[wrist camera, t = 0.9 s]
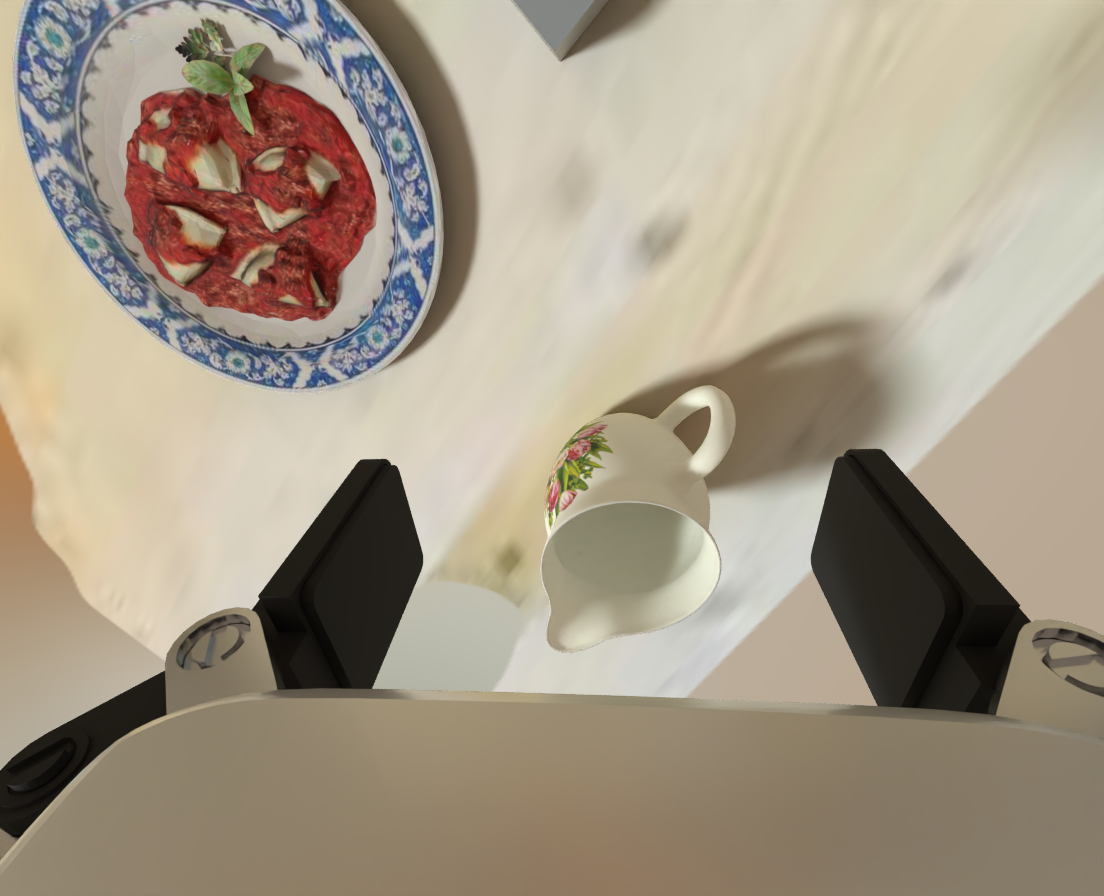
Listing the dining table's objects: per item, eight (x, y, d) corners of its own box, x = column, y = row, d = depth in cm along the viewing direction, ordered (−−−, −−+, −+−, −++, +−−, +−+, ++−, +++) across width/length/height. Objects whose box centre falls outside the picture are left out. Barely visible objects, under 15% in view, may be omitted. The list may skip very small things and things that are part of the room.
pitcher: (764, 391, 37) (840, 511, 25) (619, 542, 45) (625, 683, 34) (642, 309, 34) (662, 400, 23) (513, 485, 43) (480, 615, 31)
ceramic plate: (395, 431, 42) (382, 450, 39) (65, 294, 38) (26, 306, 35) (511, 76, 28) (502, 71, 26) (21, -190, 24) (-46, -227, 22)
